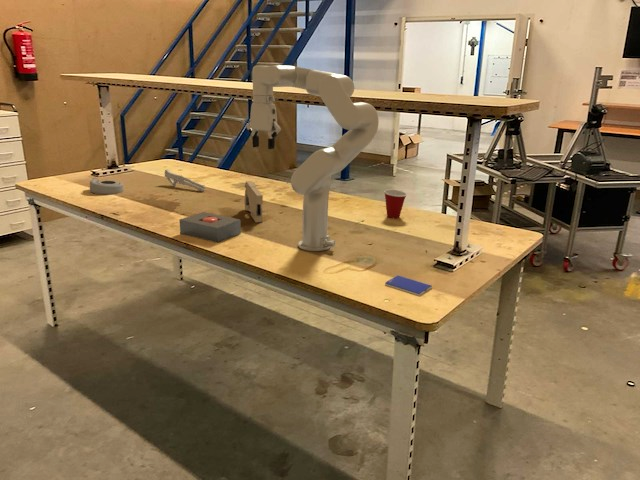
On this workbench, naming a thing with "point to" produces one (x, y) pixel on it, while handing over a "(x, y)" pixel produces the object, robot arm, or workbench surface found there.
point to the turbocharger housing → (105, 186)
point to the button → (210, 219)
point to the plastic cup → (394, 202)
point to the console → (210, 227)
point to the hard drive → (408, 285)
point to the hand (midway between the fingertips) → (263, 147)
